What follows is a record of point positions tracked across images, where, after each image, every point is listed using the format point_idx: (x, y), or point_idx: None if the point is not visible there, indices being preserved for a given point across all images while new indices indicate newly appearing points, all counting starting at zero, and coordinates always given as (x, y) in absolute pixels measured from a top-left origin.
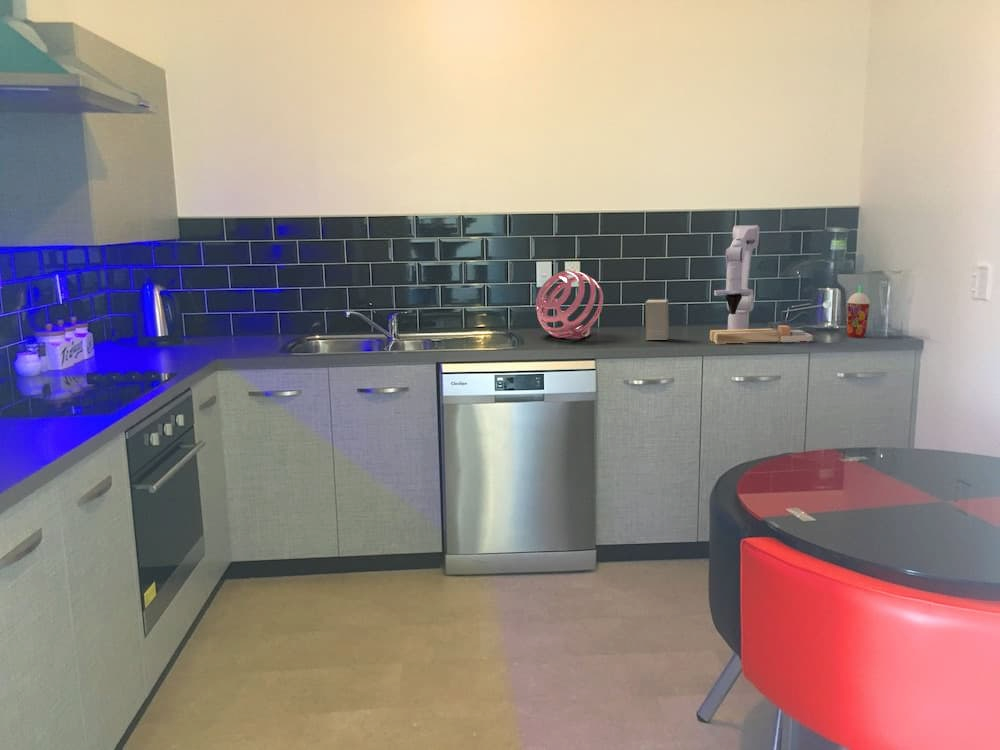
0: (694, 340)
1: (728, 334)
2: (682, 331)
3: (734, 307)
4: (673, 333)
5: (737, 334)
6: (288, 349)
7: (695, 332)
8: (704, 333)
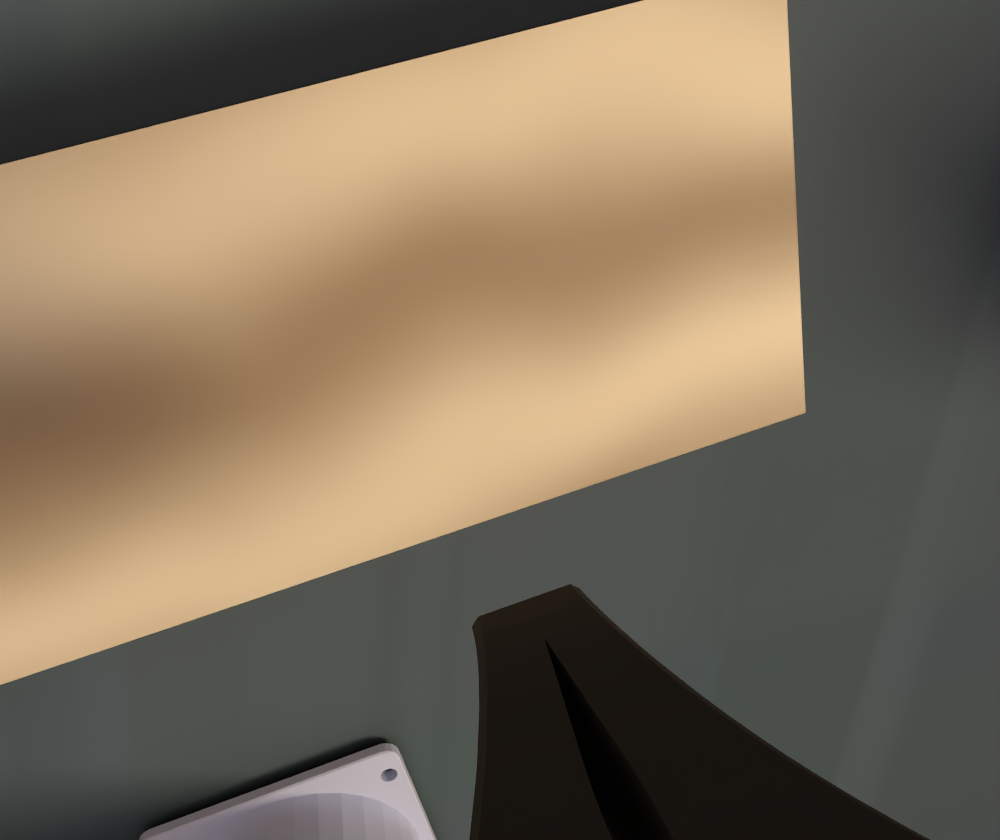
0: (902, 320)
1: (548, 26)
2: None
3: (584, 767)
4: (973, 703)
5: (353, 76)
6: None
7: None
8: None
